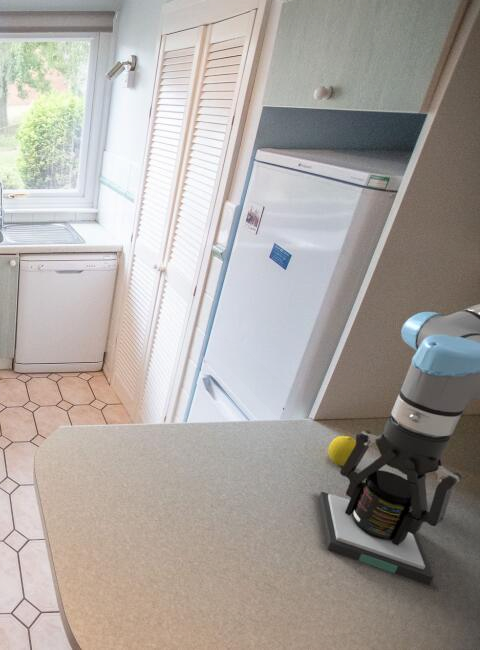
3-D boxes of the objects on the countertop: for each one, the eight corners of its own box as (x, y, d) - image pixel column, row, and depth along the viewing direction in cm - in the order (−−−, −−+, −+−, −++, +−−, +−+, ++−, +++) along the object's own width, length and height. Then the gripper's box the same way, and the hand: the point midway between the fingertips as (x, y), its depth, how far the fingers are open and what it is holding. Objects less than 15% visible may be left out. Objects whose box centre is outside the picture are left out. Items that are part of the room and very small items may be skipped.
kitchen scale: (405, 527, 88) (411, 515, 87) (428, 587, 77) (435, 574, 76) (317, 500, 94) (322, 488, 93) (326, 551, 83) (331, 539, 82)
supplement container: (406, 544, 81) (428, 500, 77) (363, 539, 82) (382, 495, 78) (382, 514, 87) (402, 472, 83) (343, 509, 88) (359, 468, 84)
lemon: (350, 477, 100) (362, 448, 97) (320, 464, 104) (331, 436, 101) (357, 466, 103) (368, 438, 100) (328, 453, 107) (338, 426, 104)
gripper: (340, 400, 82) (305, 497, 91) (493, 469, 66) (433, 578, 75) (362, 390, 85) (326, 484, 94) (513, 452, 69) (453, 559, 78)
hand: (373, 525), depth 84 cm, fingers closed on supplement container, 7 cm apart
